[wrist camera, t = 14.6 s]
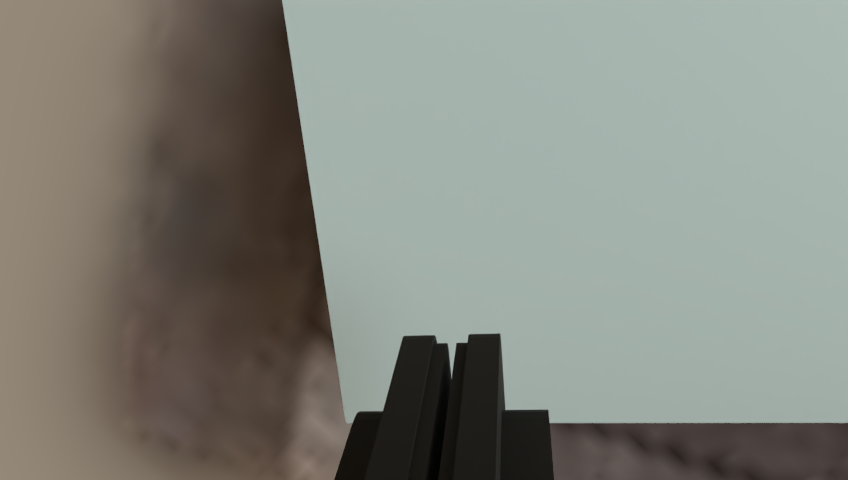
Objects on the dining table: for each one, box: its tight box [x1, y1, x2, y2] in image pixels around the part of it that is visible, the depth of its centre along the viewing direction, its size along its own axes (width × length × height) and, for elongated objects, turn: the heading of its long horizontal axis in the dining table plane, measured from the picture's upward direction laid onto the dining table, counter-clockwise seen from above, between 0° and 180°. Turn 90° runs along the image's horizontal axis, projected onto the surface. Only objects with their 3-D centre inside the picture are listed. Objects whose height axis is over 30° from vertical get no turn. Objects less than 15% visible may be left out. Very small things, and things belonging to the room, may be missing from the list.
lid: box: [282, 0, 848, 423], centre depth 16 cm, size 20×12×1 cm, turn 96°
